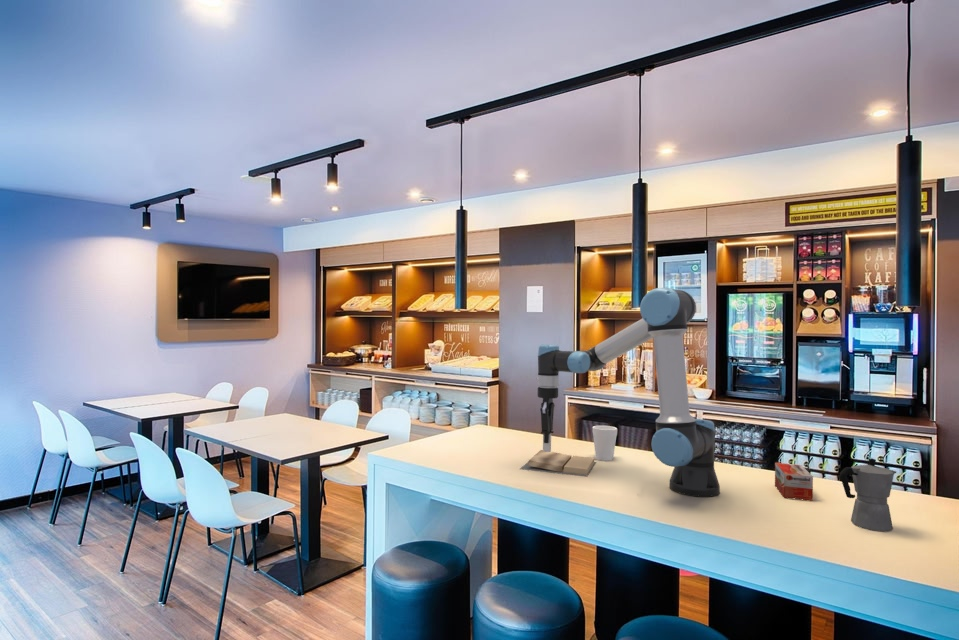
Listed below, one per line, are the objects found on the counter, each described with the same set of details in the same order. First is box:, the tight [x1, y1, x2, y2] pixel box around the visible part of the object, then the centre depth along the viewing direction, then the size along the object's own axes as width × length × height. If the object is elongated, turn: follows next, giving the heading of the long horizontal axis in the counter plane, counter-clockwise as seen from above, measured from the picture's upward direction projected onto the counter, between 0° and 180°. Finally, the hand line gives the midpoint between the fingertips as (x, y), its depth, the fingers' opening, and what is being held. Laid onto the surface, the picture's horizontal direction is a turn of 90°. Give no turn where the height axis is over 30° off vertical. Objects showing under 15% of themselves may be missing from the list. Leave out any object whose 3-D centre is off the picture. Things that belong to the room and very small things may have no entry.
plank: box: [528, 449, 573, 472], centre depth 202 cm, size 12×18×2 cm, turn 160°
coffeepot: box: [839, 457, 897, 533], centre depth 147 cm, size 15×9×18 cm, turn 93°
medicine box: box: [774, 462, 814, 502], centre depth 176 cm, size 15×8×8 cm, turn 162°
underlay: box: [519, 455, 597, 477], centre depth 201 cm, size 24×22×3 cm
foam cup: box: [591, 425, 618, 462], centre depth 213 cm, size 10×9×13 cm
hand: (546, 451), depth 200 cm, fingers closed
